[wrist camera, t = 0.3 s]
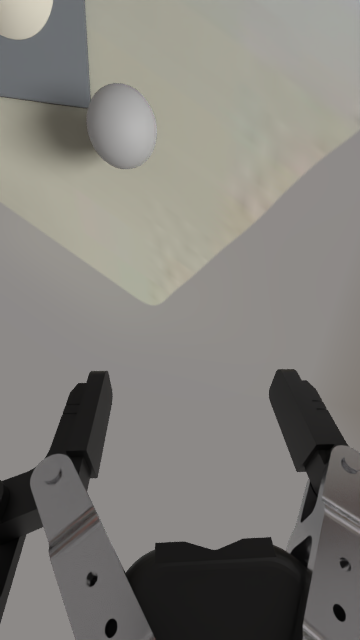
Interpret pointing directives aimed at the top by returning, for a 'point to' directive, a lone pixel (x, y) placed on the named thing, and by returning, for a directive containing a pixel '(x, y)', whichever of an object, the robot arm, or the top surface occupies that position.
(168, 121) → the top surface
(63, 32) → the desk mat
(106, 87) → the lightbulb
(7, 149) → the top surface
